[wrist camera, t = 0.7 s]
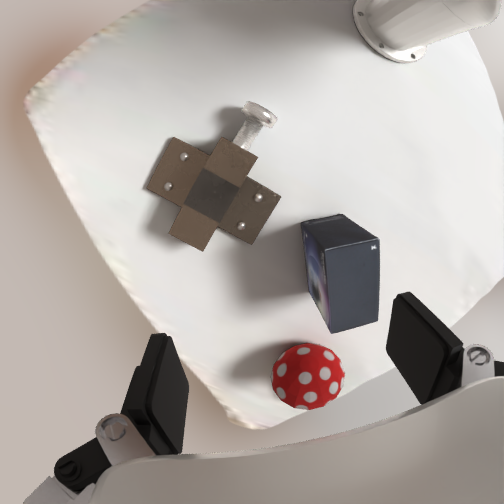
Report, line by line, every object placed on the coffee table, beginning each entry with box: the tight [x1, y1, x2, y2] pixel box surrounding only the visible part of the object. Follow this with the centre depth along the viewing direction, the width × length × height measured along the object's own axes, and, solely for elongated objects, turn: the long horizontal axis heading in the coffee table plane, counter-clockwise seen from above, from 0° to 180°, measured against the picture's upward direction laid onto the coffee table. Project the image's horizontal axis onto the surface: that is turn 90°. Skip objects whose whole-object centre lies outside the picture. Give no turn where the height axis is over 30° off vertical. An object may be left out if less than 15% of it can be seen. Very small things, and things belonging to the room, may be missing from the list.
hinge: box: [147, 137, 281, 252], centre depth 32 cm, size 12×15×4 cm
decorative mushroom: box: [271, 343, 345, 410], centre depth 41 cm, size 11×11×15 cm
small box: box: [301, 214, 380, 334], centre depth 33 cm, size 11×6×10 cm, turn 11°
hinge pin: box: [232, 101, 278, 151], centre depth 30 cm, size 14×4×4 cm, turn 149°
